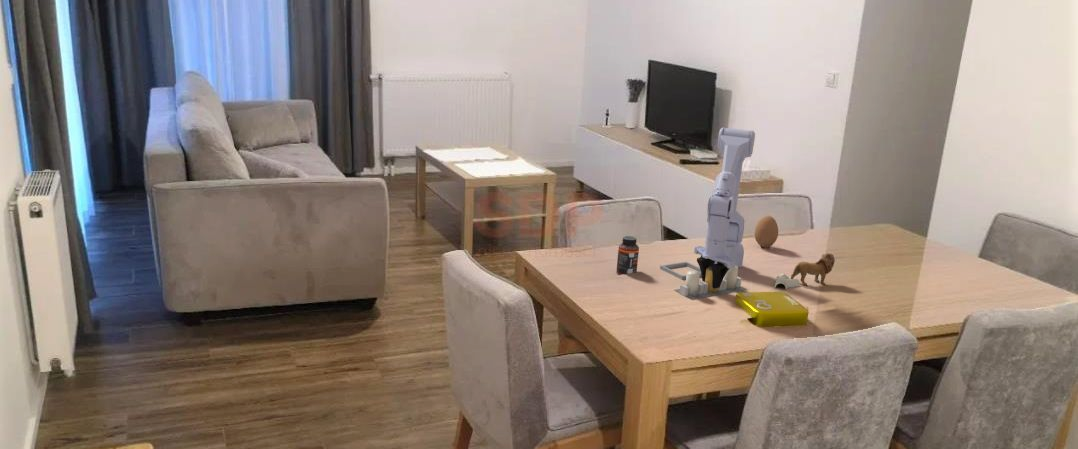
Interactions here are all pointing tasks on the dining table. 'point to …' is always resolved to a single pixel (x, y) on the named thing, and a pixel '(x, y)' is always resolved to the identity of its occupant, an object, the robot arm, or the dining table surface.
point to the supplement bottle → (627, 256)
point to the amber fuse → (709, 279)
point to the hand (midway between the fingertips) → (711, 285)
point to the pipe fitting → (786, 281)
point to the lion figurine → (815, 268)
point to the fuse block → (703, 292)
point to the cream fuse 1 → (692, 282)
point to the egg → (766, 231)
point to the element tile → (772, 309)
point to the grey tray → (666, 267)
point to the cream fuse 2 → (731, 277)
